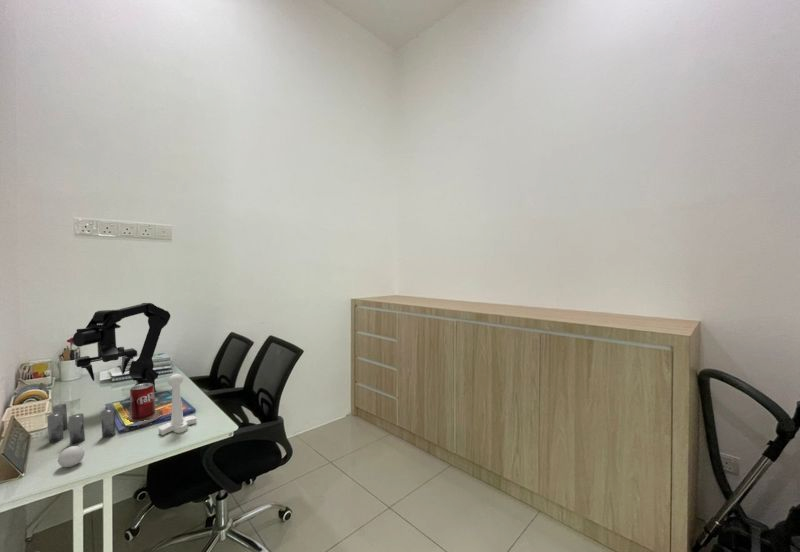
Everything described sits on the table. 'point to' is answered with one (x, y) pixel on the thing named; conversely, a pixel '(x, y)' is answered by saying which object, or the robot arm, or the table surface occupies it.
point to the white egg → (71, 456)
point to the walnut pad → (157, 413)
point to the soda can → (142, 401)
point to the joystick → (176, 409)
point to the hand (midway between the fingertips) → (108, 377)
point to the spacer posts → (76, 425)
